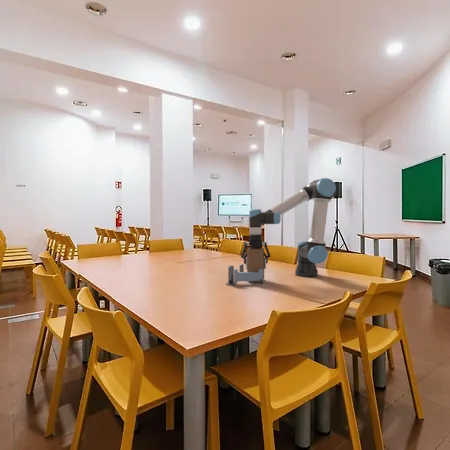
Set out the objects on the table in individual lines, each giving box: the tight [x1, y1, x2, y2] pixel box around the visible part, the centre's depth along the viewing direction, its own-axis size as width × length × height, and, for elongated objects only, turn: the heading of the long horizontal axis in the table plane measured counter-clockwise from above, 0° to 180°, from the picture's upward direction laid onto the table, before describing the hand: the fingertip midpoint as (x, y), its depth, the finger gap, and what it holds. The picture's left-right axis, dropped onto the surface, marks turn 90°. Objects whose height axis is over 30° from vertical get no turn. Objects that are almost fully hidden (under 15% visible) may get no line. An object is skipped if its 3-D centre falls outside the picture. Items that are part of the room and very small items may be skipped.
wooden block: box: [246, 247, 265, 283], centre depth 195 cm, size 10×10×20 cm
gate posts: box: [225, 263, 245, 286], centre depth 194 cm, size 6×23×11 cm, turn 157°
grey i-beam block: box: [234, 268, 264, 284], centre depth 186 cm, size 17×3×8 cm, turn 93°
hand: (255, 268), depth 195 cm, fingers closed on wooden block, 11 cm apart
